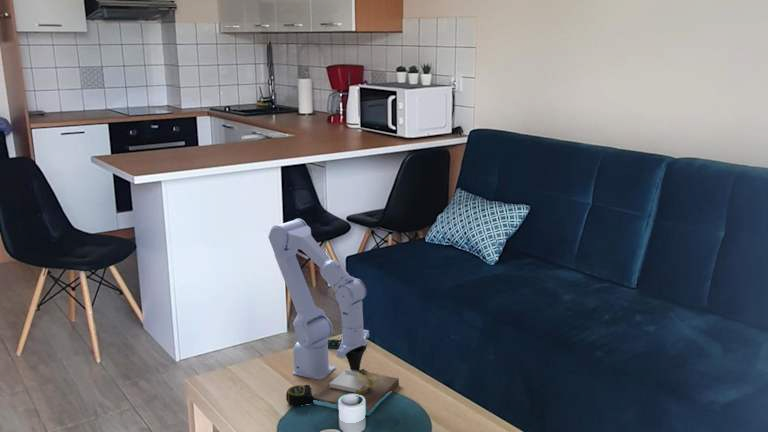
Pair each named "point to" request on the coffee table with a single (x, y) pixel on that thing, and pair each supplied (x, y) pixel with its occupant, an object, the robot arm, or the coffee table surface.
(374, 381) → the t-key
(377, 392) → the lock board
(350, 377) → the lid
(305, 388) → the tape measure
